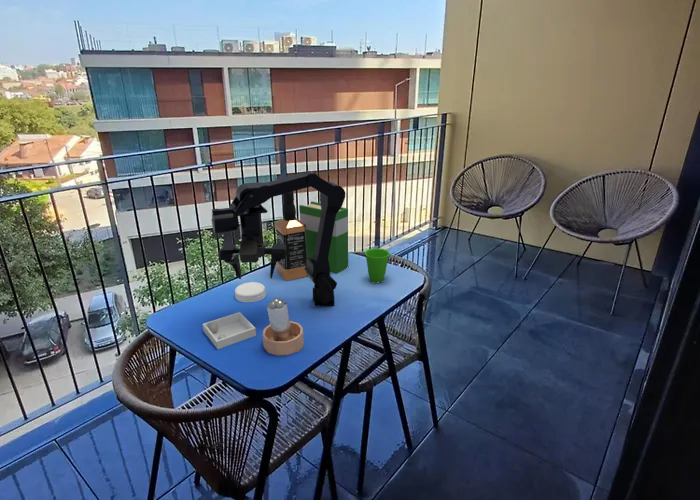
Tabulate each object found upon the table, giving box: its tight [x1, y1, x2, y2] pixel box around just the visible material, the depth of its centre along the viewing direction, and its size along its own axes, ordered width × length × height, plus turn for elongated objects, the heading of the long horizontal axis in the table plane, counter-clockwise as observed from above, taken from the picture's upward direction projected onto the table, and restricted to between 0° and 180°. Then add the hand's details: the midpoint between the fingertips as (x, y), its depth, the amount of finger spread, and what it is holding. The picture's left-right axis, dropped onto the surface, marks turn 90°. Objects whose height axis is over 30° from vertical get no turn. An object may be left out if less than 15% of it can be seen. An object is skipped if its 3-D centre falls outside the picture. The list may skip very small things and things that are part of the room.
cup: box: [364, 247, 391, 284], centre depth 149 cm, size 9×9×11 cm
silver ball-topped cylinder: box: [266, 297, 293, 341], centre depth 110 cm, size 5×5×14 cm
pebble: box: [209, 324, 218, 333], centre depth 118 cm, size 2×2×2 cm
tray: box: [202, 311, 257, 350], centre depth 118 cm, size 11×11×3 cm
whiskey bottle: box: [274, 191, 308, 281], centre depth 151 cm, size 10×10×32 cm
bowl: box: [262, 320, 305, 356], centre depth 113 cm, size 11×11×4 cm
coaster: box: [234, 281, 266, 303], centre depth 139 cm, size 10×10×4 cm
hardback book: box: [298, 201, 349, 275], centre depth 160 cm, size 18×7×24 cm, turn 54°
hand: (256, 278), depth 123 cm, fingers open, 9 cm apart
